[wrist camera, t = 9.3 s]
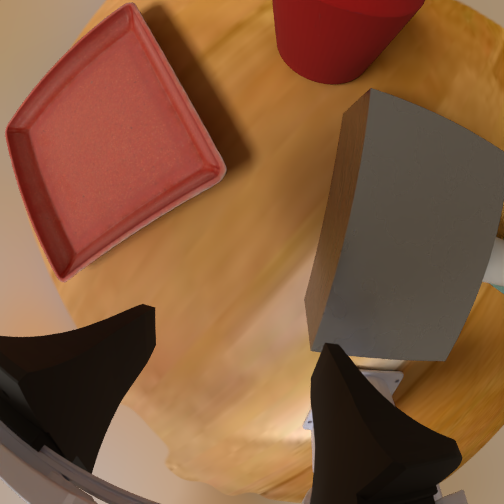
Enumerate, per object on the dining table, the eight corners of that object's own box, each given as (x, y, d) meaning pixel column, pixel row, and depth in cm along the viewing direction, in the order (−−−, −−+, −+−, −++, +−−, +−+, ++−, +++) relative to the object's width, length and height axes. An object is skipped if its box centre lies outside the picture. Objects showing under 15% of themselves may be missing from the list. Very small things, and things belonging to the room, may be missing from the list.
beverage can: (347, 11, 13) (387, -87, 2) (380, 81, 15) (470, 9, 4) (264, 23, 15) (241, -89, 3) (293, 96, 16) (306, -2, 5)
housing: (412, 316, 20) (445, 361, 14) (304, 299, 20) (310, 350, 14) (456, 154, 16) (509, 155, 9) (343, 113, 16) (370, 88, 10)
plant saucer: (147, 12, 15) (130, -3, 12) (240, 174, 19) (231, 175, 16) (24, 130, 19) (3, 129, 16) (81, 273, 23) (60, 286, 20)
